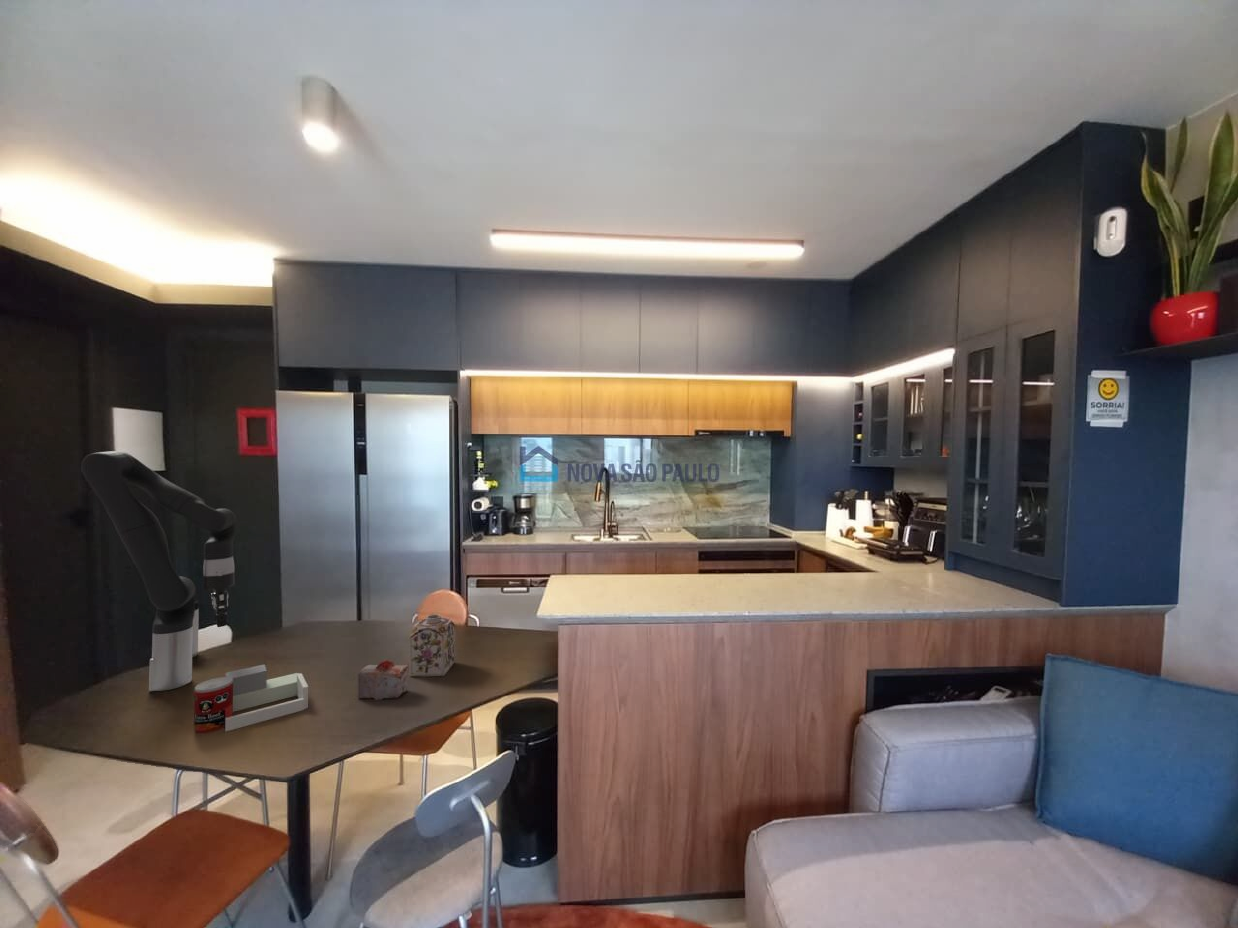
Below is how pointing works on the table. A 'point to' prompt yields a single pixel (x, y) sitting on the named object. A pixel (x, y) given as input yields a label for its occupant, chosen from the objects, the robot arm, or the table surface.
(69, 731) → the table surface
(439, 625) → the decorative jar
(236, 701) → the white open tray
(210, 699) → the canned food
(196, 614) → the travel mug
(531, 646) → the table surface
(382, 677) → the food item
